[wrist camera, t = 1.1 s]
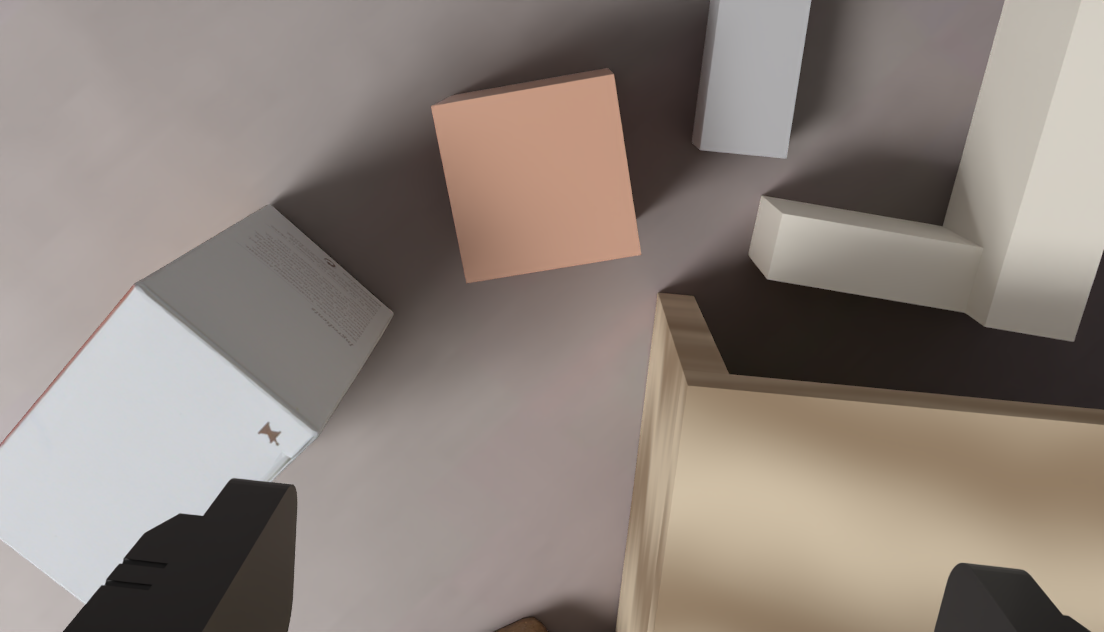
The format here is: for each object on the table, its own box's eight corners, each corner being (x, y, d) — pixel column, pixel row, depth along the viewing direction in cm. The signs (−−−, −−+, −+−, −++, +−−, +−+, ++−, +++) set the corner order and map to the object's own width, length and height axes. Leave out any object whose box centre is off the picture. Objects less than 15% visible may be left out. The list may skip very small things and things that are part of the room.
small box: (272, 199, 33) (137, 272, 23) (400, 313, 34) (326, 431, 24) (125, 366, 35) (-60, 504, 25) (251, 470, 36) (123, 644, 26)
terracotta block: (452, 95, 32) (431, 106, 27) (607, 67, 32) (613, 74, 27) (481, 247, 33) (466, 283, 29) (631, 222, 33) (641, 254, 28)
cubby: (657, 292, 34) (687, 385, 25) (1123, 336, 34) (1320, 445, 25) (611, 661, 37) (623, 856, 28) (1029, 700, 37) (1170, 907, 29)
